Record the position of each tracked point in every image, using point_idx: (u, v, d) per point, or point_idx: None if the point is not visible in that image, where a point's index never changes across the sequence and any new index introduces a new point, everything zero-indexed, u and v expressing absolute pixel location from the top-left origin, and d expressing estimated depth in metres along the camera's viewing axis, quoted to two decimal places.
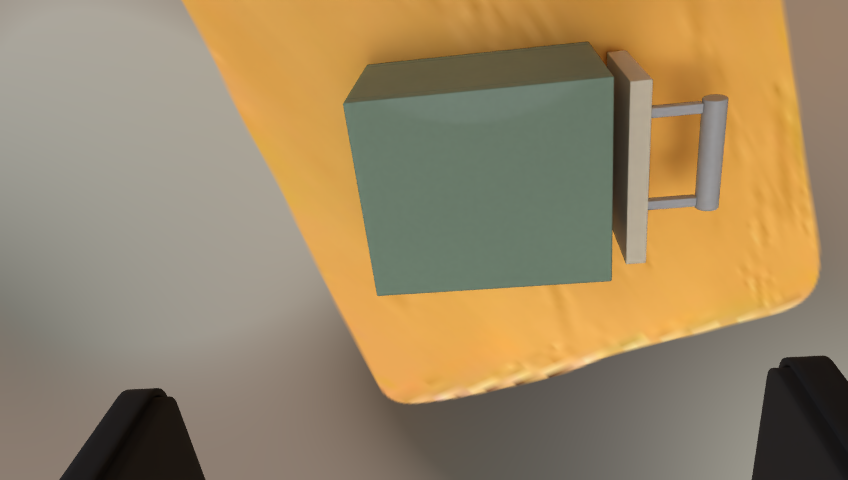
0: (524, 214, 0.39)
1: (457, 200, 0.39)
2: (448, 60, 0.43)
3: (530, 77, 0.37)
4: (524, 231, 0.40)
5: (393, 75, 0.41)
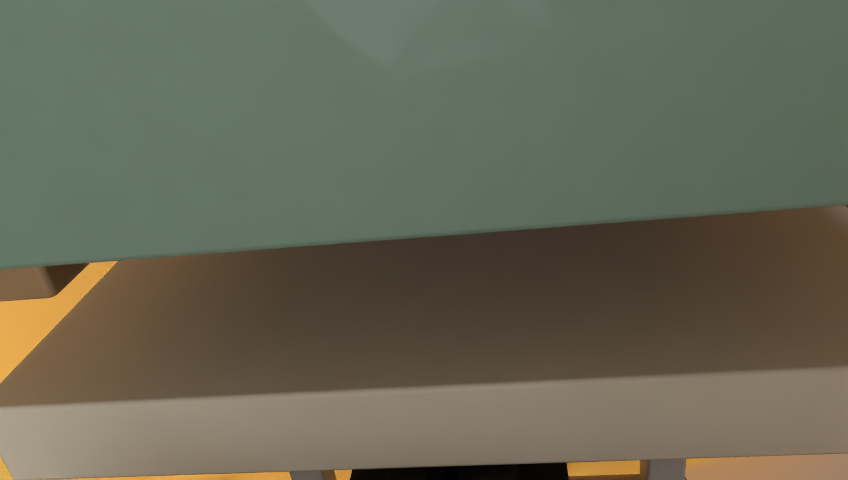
0: None
1: None
2: None
3: None
4: None
5: None
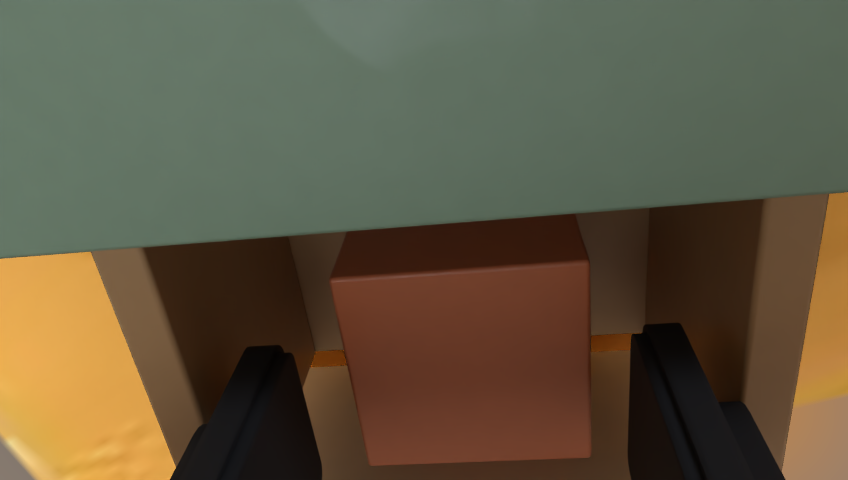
0: None
1: None
2: None
3: None
4: None
5: None
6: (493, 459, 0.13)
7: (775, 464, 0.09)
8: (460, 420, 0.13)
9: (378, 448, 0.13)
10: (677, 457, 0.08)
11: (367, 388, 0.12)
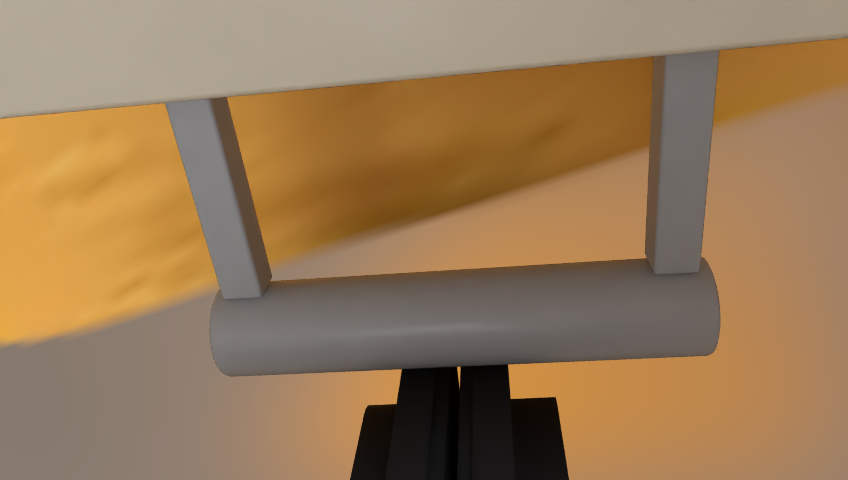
0: None
1: None
2: None
3: None
4: None
5: None
6: None
7: (563, 456, 0.09)
8: None
9: None
10: (458, 449, 0.09)
11: None
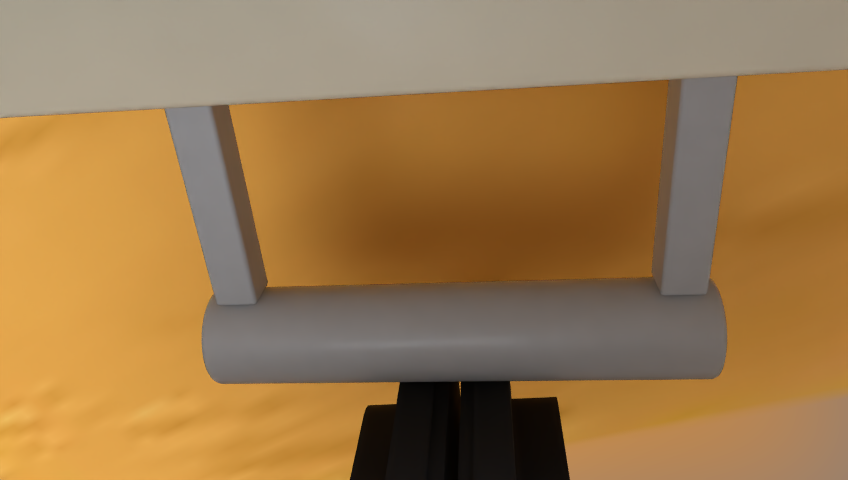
0: None
1: None
2: None
3: None
4: None
5: None
6: None
7: (564, 456, 0.09)
8: None
9: None
10: (459, 448, 0.09)
11: None
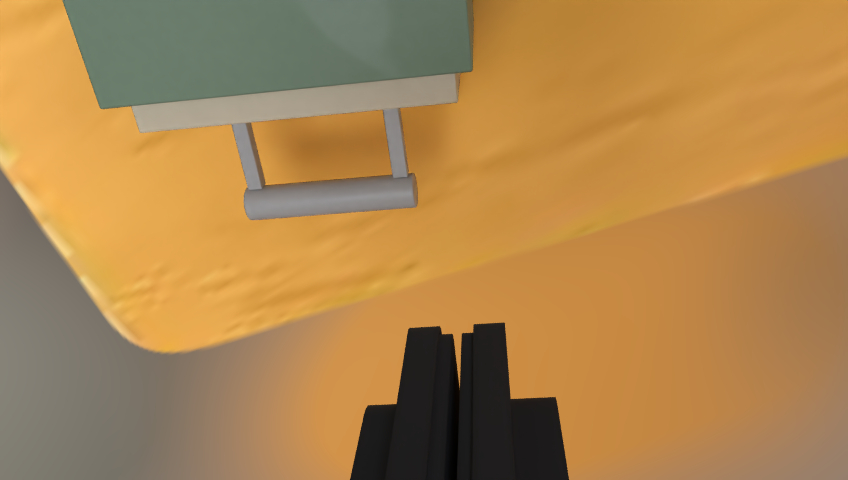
0: None
1: None
2: None
3: None
4: None
5: None
6: None
7: (563, 456, 0.09)
8: None
9: None
10: (458, 449, 0.09)
11: None
